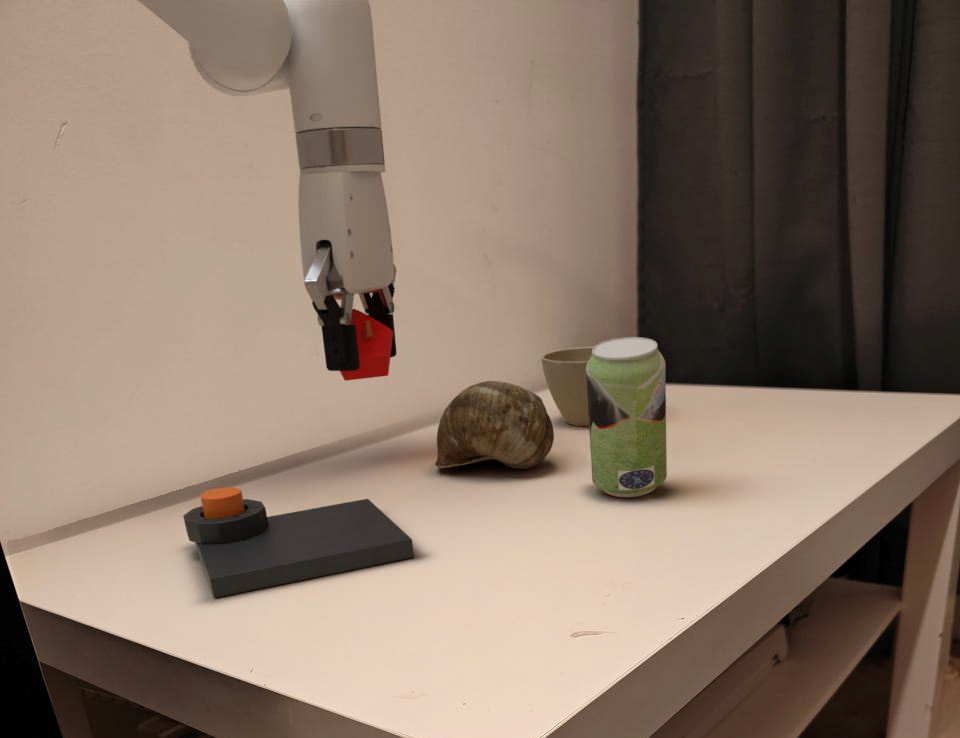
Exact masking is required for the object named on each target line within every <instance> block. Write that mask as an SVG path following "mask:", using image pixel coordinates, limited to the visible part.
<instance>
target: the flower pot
mask: <svg viewBox="0 0 960 738" xmlns="http://www.w3.org/2000/svg"><path fill="white" fill-rule="evenodd" d="M594 346H595V345H594ZM594 346H579V347H569V348H568V347H567V348H561V349H557V350H552V351H548V352H546V353H543V354H542V355H540V356H541V357H540V359H541V365H542V370H543V374H544V378H545V381H546V385H547V388H548V390H549V393H550V395H551V398H552V400H553V402H554V403H555V406H556V407H557V409H558V411H559V413H560V414H561V416H562V418H563V419H564V420H565V422H566V423H567V424H568V425H573V426H578V427H579V426H580V427H581V426H582V427H589V416H588V399H587V383H586V366H587V363H588V361H589V360H590V358H591V356H592V354H593V353H592V349H593V348H594Z"/></svg>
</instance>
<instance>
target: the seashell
mask: <svg viewBox="0 0 960 738" xmlns="http://www.w3.org/2000/svg"><path fill="white" fill-rule="evenodd" d="M437 427H438V428H437V434H436V448H437V449H436V450H437V457H436V461H435V463H434V466H435V467H436V468H440V469H443V468H451V467H459V466H463V465H470V464H473V463H477V462H482V461H488V460H496V461H497V462H498V461H499V462H501V463H502V464H503V465H505V466H507V467H509V468H514V469H518V470H524V469H531V468H532V467H535V466H537V465H538V464H541V462H543V461H544V460H545V459H546V457H547V456H548V455H549V453H550V452H551V450H552V447H553V445H554V439H555V433H554V426H553V422H552V419H551V417H550V415H549V414H548V412H547V408H546V405H545V404H544V400H543V399H542V398H541V396H539V395H538V394H536V393H534V392H533V391H530V390H529V389H526V388H524V387H521V386H519V385H516V384H514V383H510V382H506V381H499V380H487V381H482V382H477V383H476V384H472V385H470V386H468V387H467V388H465V389H463V390H461V391H460V392H459V393H458V394H457V395H456V396H455V397H454V398H453V399H452V400H451V401H450V402H449V403H448V405H447V406H446V408H444V411H443V413H442V414H441V417H440V419H439V423H438V426H437Z"/></svg>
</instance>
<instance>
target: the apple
mask: <svg viewBox="0 0 960 738" xmlns="http://www.w3.org/2000/svg"><path fill="white" fill-rule="evenodd" d="M368 315H369V314H366V313H365V312H363V311H360V310H358V309H356V308H353V307H352V315H351V322H350V324H355V325H356V334H357V343H358V353H359V362H360V368H359V369H358V370H356V371H339V372H340V375H341V377H342V378H343V380H344V381H345V382H346V381H355V380H363V379H371V378H372V379H373V378H380V377H388V376H389V373H390V365H391V357H390V356H391V348H392V339H393V331H392V330H391V329H390V328H389V327H387V326H385V325H383V324H382V323H380V322H378V321H377V320H375V319H373V318H371V317H370V316H368Z"/></svg>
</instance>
